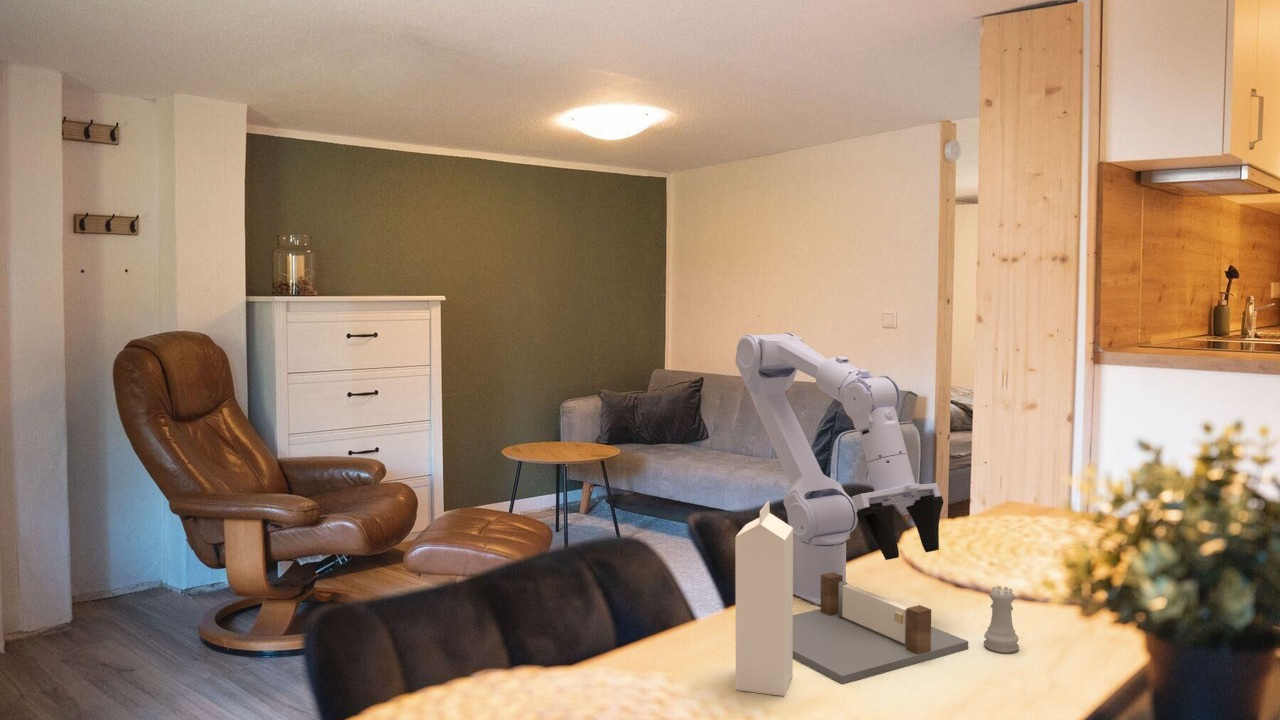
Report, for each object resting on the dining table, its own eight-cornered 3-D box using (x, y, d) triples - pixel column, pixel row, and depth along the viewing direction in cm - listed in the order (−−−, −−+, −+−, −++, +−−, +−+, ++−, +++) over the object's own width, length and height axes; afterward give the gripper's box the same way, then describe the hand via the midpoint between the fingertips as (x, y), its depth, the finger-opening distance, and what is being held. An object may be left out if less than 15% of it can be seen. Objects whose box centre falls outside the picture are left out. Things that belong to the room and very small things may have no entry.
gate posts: (820, 611, 138) (820, 574, 138) (833, 608, 140) (833, 572, 139) (917, 654, 122) (917, 612, 122) (930, 650, 123) (931, 609, 123)
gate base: (745, 632, 133) (744, 625, 133) (863, 605, 144) (863, 599, 144) (842, 683, 116) (842, 676, 116) (968, 648, 127) (968, 641, 127)
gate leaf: (835, 615, 136) (835, 582, 136) (844, 613, 137) (844, 580, 137) (903, 645, 125) (903, 609, 124) (912, 642, 126) (913, 607, 125)
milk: (735, 691, 114) (733, 510, 112) (745, 671, 120) (744, 499, 118) (786, 696, 112) (784, 513, 111) (794, 676, 118) (793, 501, 116)
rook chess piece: (1022, 655, 124) (1023, 595, 124) (986, 653, 125) (987, 593, 125) (1015, 642, 129) (1016, 584, 128) (980, 640, 130) (982, 583, 129)
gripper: (867, 457, 128) (893, 558, 124) (944, 448, 135) (970, 543, 132) (834, 468, 134) (858, 565, 130) (909, 459, 141) (934, 551, 137)
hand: (912, 555), depth 131 cm, fingers open, 7 cm apart
